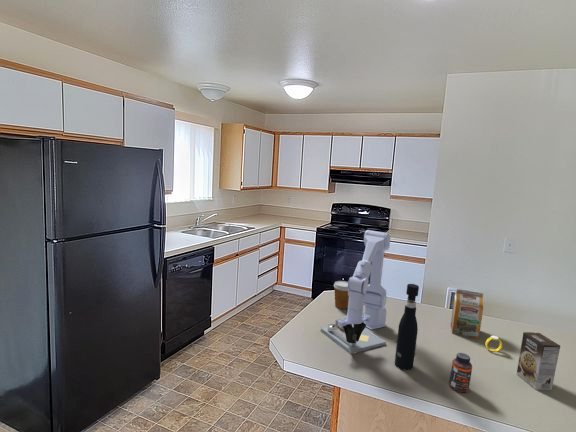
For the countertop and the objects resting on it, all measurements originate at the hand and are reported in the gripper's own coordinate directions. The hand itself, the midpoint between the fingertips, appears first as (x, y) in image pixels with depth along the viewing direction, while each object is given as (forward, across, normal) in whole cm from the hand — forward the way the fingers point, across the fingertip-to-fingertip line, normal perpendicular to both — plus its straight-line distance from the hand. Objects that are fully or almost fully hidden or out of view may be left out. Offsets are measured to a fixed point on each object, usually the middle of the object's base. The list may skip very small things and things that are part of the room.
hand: (352, 341), depth 136 cm
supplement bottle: (+3, -17, +34) cm, 38 cm away
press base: (+3, -6, -7) cm, 10 cm away
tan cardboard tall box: (+3, -58, +9) cm, 59 cm away
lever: (+1, 0, -7) cm, 7 cm away
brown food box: (+3, -45, +44) cm, 62 cm away
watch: (+3, -53, +24) cm, 58 cm away
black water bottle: (+3, -10, +17) cm, 20 cm away
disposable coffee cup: (+3, -22, -35) cm, 42 cm away
